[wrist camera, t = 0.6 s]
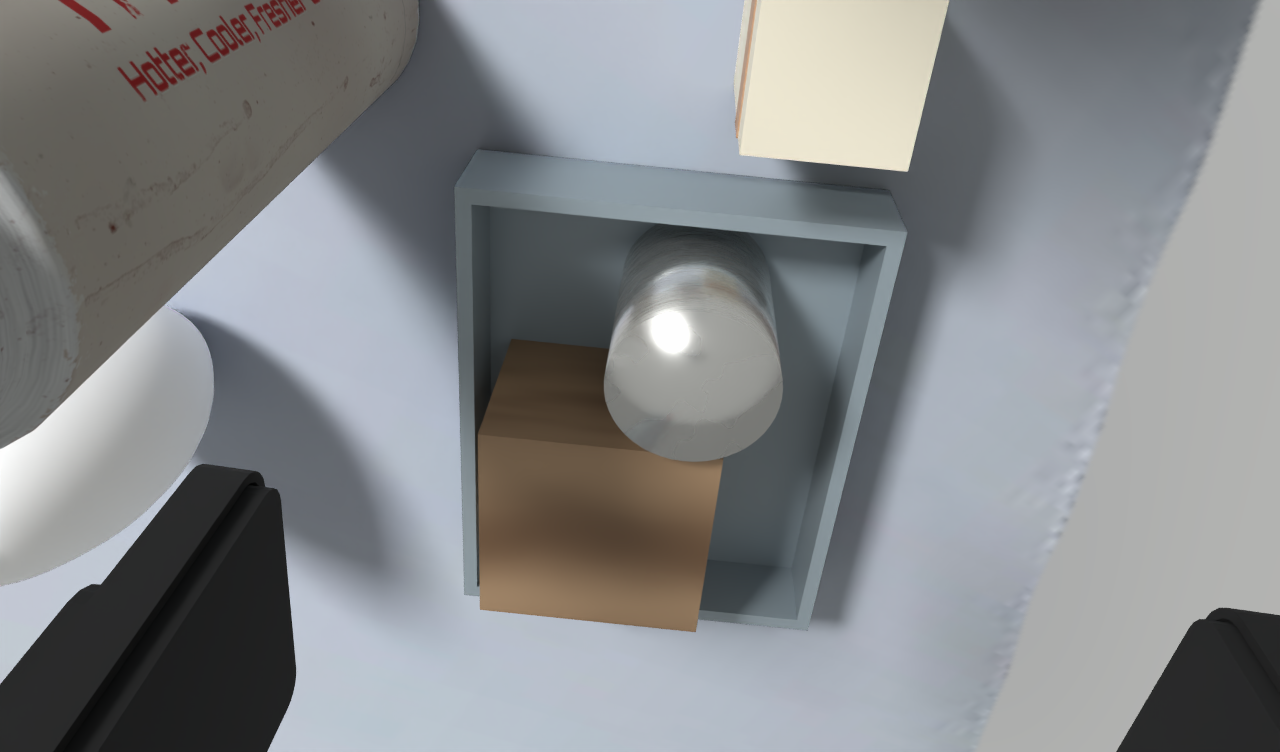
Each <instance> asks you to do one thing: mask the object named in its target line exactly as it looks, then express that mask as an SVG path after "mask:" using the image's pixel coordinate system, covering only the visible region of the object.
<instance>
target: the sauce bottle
mask: <svg viewBox="0 0 1280 752" xmlns="http://www.w3.org/2000/svg"><path fill="white" fill-rule="evenodd" d="M213 397H214V372H213V364H212V359H211V355H210V351H209V348H208V346H207V344H206V341H205V339H204V338H203V336H202V335H201V333H200V332H199V330H198V329H197V328H196V327H195V326H194V325H193V323H192V322H191V321H190V320H188V319H187V318H186V317H184V316H183V315H182V314H180V313H179V312H177V311H175V310H173V309H171V308H170V307H168V306H165V305H164V306H163V307H162V308H161V309H159V310H158V311H157V312H156V313H155V314H154V315H153V316H152V317H151V318H150V319H149V320H148V321H147V322H146V323H145V324H144V325H143V326H142V327H141V328H140V329H139V330H138V331H137V332H136V333H135V334H134V335H133V336H132V337H131V338H129V339H128V340H127V341H126V342H125V343H124V344H123V345H122V346H121V347H120V348H119V349H118V350H117V351H116V352H115V353H114V354H113V355H112V356H111V357H110V358H109V359H108V360H107V361H106V362H105V363H104V364H103V365H102V366H101V367H99V368H98V369H97V370H96V371H95V372H94V373H93V374H92V375H91V376H90V377H89V378H88V379H87V380H86V381H85V382H84V383H83V384H82V385H81V386H80V387H79V388H78V389H77V390H76V391H75V392H74V393H73V394H72V395H71V396H69V397H68V398H67V399H66V400H65V401H64V402H63V403H62V404H61V405H60V406H59V407H58V408H57V409H56V410H55V411H54V412H53V413H52V414H51V415H50V416H49V417H48V418H47V419H46V420H45V421H44V422H43V423H42V424H40V425H39V426H38V427H37V428H36V429H35V430H34V431H32V432H31V433H29V434H27V435H25V436H23V437H22V438H20V439H18V440H16V441H14V442H13V443H11V444H9V445H7V446H5V447H4V448H2V449H0V586H4V585H8V584H12V583H17V582H20V581H23V580H27V579H30V578H33V577H35V576H38V575H40V574H43V573H45V572H48V571H50V570H53V569H55V568H57V567H59V566H61V565H63V564H65V563H67V562H69V561H71V560H73V559H75V558H77V557H79V556H81V555H83V554H85V553H87V552H89V551H90V550H92V549H94V548H96V547H97V546H99V545H101V544H102V543H104V542H106V541H107V540H109V539H110V538H112V537H113V536H115V535H116V534H118V533H119V532H121V531H122V530H124V529H125V528H126V527H128V526H129V525H130V524H131V523H133V522H134V521H135V520H137V519H138V518H139V517H140V516H141V515H142V514H143V513H145V512H146V511H147V510H148V509H149V508H150V507H151V506H152V505H153V504H154V503H155V502H156V501H157V500H158V499H159V498H160V497H161V496H162V495H163V494H164V493H165V492H166V491H167V490H168V489H169V488H170V487H171V485H172V484H173V483H174V482H175V481H176V480H177V478H178V477H179V476H180V475H181V473H182V472H183V471H184V469H185V468H186V466H187V465H188V463H189V462H190V460H191V458H192V457H193V455H194V453H195V451H196V449H197V447H198V445H199V443H200V441H201V439H202V437H203V435H204V433H205V430H206V428H207V425H208V421H209V418H210V413H211V408H212V403H213Z"/></svg>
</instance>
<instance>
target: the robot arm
mask: <svg viewBox="0 0 1280 752" xmlns="http://www.w3.org/2000/svg"><path fill="white" fill-rule="evenodd" d="M295 680H296V662H295V651H294V640H293V629H292V618H291V607H290V596H289V585H288V574H287V563H286V552H285V541H284V530H283V519H282V508H281V499H280V494H279V492H278V490H277V489H274V488H267V487H265V484H264V479H263V477H262V475H261V474H260V473H259V472H256V471H250V470H243V469H236V468H229V467H222V466H215V465H208V464H201V465H198V466H196V467H195V468H194V469H193V470H192V471H191V472H190V473H189V474H188V476H187V477H186V478H185V479H184V481H183V482H182V483H181V484H180V486H179V487H178V488H177V489H176V491H175V492H174V493H173V494H172V496H171V497H170V498H169V500H168V501H167V502H166V503H165V505H164V506H163V507H162V508H161V510H160V511H159V512H158V513H157V515H156V516H155V517H154V518H153V520H152V521H151V522H150V523H149V525H148V526H147V527H146V529H145V530H144V531H143V532H142V534H141V535H140V536H139V537H138V539H137V540H136V541H135V542H134V544H133V545H132V546H131V547H130V549H129V550H128V551H127V553H126V554H125V555H124V556H123V558H122V559H121V560H120V561H119V563H118V564H117V565H116V566H115V568H114V569H113V570H112V571H111V573H110V574H109V575H108V576H107V578H106V579H105V580H104V582H103V583H102V584H101V585H98V584H91V585H89V586H87V587H85V588H83V589H81V590H80V591H79V592H78V593H76V594H75V595H74V596H73V597H72V598H71V599H70V600H69V601H68V602H67V603H66V605H65V606H64V607H63V608H62V610H61V611H60V612H59V613H58V614H57V616H56V617H55V618H54V619H53V621H52V622H51V623H50V624H49V625H48V627H47V628H46V629H45V630H44V632H43V633H42V634H41V635H40V636H39V638H38V639H37V640H36V641H35V643H34V644H33V645H32V646H31V647H30V649H29V650H28V651H27V652H26V654H25V655H24V656H23V657H22V658H21V660H20V661H19V662H18V663H17V665H16V666H15V667H14V668H13V669H12V671H11V672H10V673H9V674H8V676H7V677H6V678H5V679H4V680H3V682H2V683H1V684H0V752H267V751H268V749H269V747H270V744H271V742H272V740H273V738H274V736H275V734H276V732H277V730H278V728H279V726H280V723H281V721H282V719H283V717H284V715H285V713H286V711H287V709H288V706H289V704H290V701H291V698H292V695H293V691H294V686H295ZM1117 752H1280V615H1274V614H1267V613H1259V612H1252V611H1245V610H1238V609H1231V608H1218V609H1216V610H1214V611H1212V612H1211V613H1210V614H1209V615H1208V617H1207V618H1206V619H1199V620H1197V621H1195V622H1194V623H1193V624H1192V625H1191V626H1190V628H1189V629H1188V631H1187V633H1186V634H1185V636H1184V638H1183V639H1182V641H1181V643H1180V644H1179V646H1178V648H1177V650H1176V651H1175V653H1174V655H1173V656H1172V658H1171V660H1170V661H1169V663H1168V665H1167V667H1166V668H1165V670H1164V672H1163V673H1162V675H1161V677H1160V678H1159V680H1158V682H1157V684H1156V685H1155V687H1154V689H1153V690H1152V692H1151V694H1150V696H1149V697H1148V699H1147V700H1146V702H1145V704H1144V706H1143V707H1142V709H1141V711H1140V713H1139V714H1138V716H1137V718H1136V719H1135V721H1134V723H1133V724H1132V726H1131V728H1130V729H1129V731H1128V733H1127V735H1126V736H1125V738H1124V740H1123V741H1122V743H1121V745H1120V746H1119V748H1118V750H1117Z"/></svg>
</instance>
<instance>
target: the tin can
mask: <svg viewBox="0 0 1280 752" xmlns="http://www.w3.org/2000/svg"><path fill="white" fill-rule="evenodd" d="M782 394H783V379H782V371H781V363H780V355H779V347H778V338H777V330H776V322H775V314H774V306H773V298H772V290H771V282H770V273H769V268H768V264H767V261H766V258H765V256H764V254H763V252H762V250H761V248H760V247H759V245H758V244H757V243H756V241H755V240H754V239H753V238H752V237H751V236H750V235H749V234H748V233H747V232H741V231H731V230H721V229H711V228H701V227H691V226H681V225H671V224H661V223H658V224H656V225H655V226H653V227H652V228H650V229H649V230H647V231H646V232H645V233H644V234H643V235H642V236H641V237H640V238H639V239H638V240H637V241H636V242H635V244H634V245H633V247H632V248H631V250H630V251H629V254H628V256H627V258H626V261H625V264H624V267H623V273H622V279H621V284H620V290H619V296H618V302H617V307H616V313H615V319H614V325H613V330H612V336H611V342H610V348H609V353H608V359H607V365H606V371H605V377H604V395H605V401H606V404H607V407H608V410H609V412H610V414H611V416H612V418H613V420H614V421H615V423H616V424H617V426H618V427H619V428H620V430H621V431H622V432H623V433H624V434H625V435H626V436H627V437H628V438H629V439H631V440H632V441H633V442H634V443H636V444H637V445H639V446H640V447H642V448H643V449H645V450H647V451H649V452H651V453H654V454H656V455H659V456H661V457H665V458H669V459H673V460H679V461H690V462H699V461H710V460H716V459H720V458H723V457H727V456H730V455H732V454H735V453H737V452H739V451H741V450H743V449H745V448H747V447H748V446H749V445H751V444H752V443H754V442H755V441H756V440H757V439H759V438H760V437H761V436H762V435H763V434H764V433H765V432H766V430H767V429H768V428H769V427H770V425H771V424H772V422H773V421H774V419H775V417H776V415H777V413H778V410H779V408H780V404H781V401H782Z"/></svg>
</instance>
